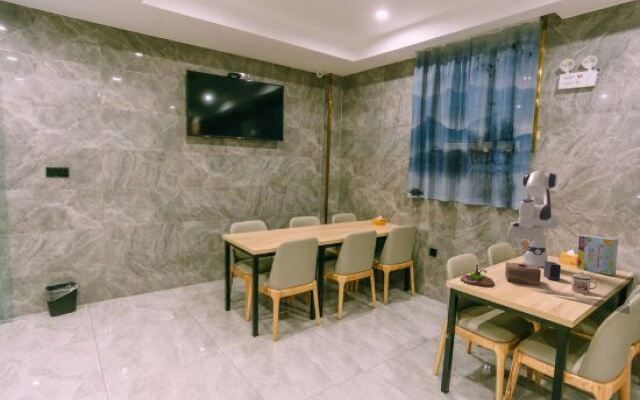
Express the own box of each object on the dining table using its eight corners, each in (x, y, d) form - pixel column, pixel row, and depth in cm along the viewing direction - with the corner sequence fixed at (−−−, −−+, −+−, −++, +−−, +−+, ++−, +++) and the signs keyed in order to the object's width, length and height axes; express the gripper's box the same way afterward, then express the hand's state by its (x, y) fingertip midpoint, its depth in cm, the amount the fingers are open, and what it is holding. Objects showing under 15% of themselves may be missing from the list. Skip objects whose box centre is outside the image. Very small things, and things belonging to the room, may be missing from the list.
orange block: (521, 247, 233) (522, 239, 233) (525, 247, 232) (526, 240, 232) (522, 248, 228) (523, 241, 228) (527, 249, 228) (527, 241, 227)
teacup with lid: (570, 291, 213) (571, 272, 212) (572, 287, 220) (573, 269, 219) (595, 295, 205) (597, 276, 205) (596, 292, 212) (598, 273, 212)
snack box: (616, 274, 254) (619, 238, 253) (611, 276, 250) (614, 240, 248) (580, 267, 272) (583, 234, 271) (576, 269, 267) (578, 235, 266)
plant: (492, 280, 233) (493, 263, 232) (495, 289, 215) (496, 271, 214) (460, 276, 240) (460, 260, 239) (459, 284, 222) (460, 267, 221)
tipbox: (505, 276, 242) (506, 262, 241) (535, 279, 235) (536, 265, 235) (507, 282, 229) (508, 266, 228) (539, 285, 222) (540, 270, 222)
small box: (560, 280, 235) (561, 265, 234) (549, 280, 236) (550, 264, 235) (553, 276, 245) (554, 261, 244) (542, 275, 246) (543, 260, 246)
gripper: (543, 225, 229) (542, 246, 229) (507, 222, 236) (506, 243, 237) (545, 226, 223) (544, 248, 224) (509, 223, 230) (507, 244, 231)
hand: (524, 245), depth 230 cm, fingers closed on orange block, 2 cm apart
